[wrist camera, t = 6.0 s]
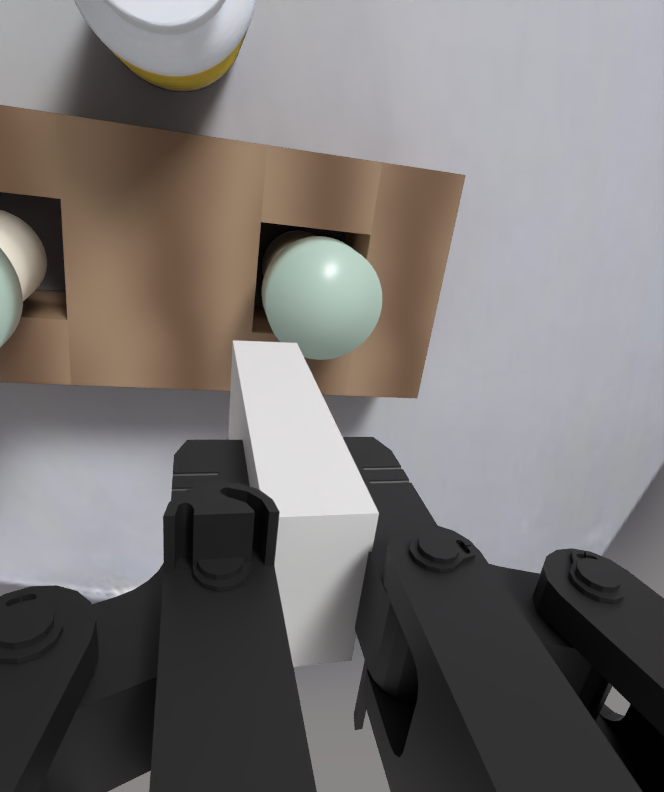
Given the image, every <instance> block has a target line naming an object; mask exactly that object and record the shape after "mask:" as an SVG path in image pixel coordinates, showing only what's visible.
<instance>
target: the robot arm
mask: <svg viewBox="0 0 664 792" xmlns="http://www.w3.org/2000/svg"><path fill="white" fill-rule="evenodd" d="M163 532H164V563H163V565H162V566H161V568H160V569H159V571H158V572H157V573H156V574H155V575H154V576H153V577H152V578H151V579H149V580H148V581H147V582H145V583H144V584H142V585H141V586H139V587H137V588H136V589H134V590H132V591H130V592H127V593H125V594H122V595H120V596H117V597H114V598H111V599H108V600H105V601H102V602H98V603H95V604H91V602H90V601H88V600H87V599H86V598H85V597H84V596H82V595H81V594H80V593H79V592H78V591H75V590H71V589H67V588H64V587H60V586H32V587H28V588H24V589H21V590H17V591H14V592H10V593H7V594H4V595H2V596H0V792H108V791H110V790H112V789H114V788H116V787H118V786H119V785H122V784H124V783H126V782H128V781H130V780H132V779H134V778H136V777H138V776H140V775H142V774H144V773H146V772H148V771H150V770H151V775H150V790H149V792H317V791H316V786H315V780H314V775H313V770H312V764H311V759H310V754H309V748H308V743H307V738H306V732H305V727H304V722H303V716H302V712H301V706H300V700H299V695H298V690H297V684H296V679H295V673H294V668H293V667H297V666H306V665H314V664H323V663H333V662H342V661H350V660H351V659H352V654H353V649H354V643H355V638H356V634H357V637H358V640H359V643H360V646H361V649H362V652H363V655H364V658H365V662H364V667H363V671H362V676H361V681H360V686H359V691H358V696H357V702H356V706H355V711H354V723H355V724H354V726H355V730H358V729H362V727H363V722H364V718H365V712H366V709H367V713H368V716H369V719H370V723H371V726H372V730H373V733H374V736H375V740H376V743H377V747H378V750H379V753H380V757H381V760H382V763H383V767H384V770H385V774H386V777H387V781H388V784H389V787H390V791H391V792H664V598H662V597H661V596H660V595H658V594H657V593H656V592H655V591H653V590H652V589H651V588H649V587H648V586H647V585H645V584H644V583H643V582H641V581H640V580H639V579H638V578H636V577H635V576H634V575H632V574H631V573H630V572H629V571H627V570H626V569H624V568H622V567H621V566H619V565H618V564H616V563H614V562H613V561H611V560H609V559H607V558H605V557H602V556H600V555H597V554H595V553H592V552H589V551H583V550H577V549H562V550H556V551H554V552H553V553H551V554H549V555H548V556H546V559H545V562H544V565H543V568H542V571H541V573H540V574H538V573H532V572H527V571H521V570H516V569H510V568H504V567H499V566H495V565H491V564H488V562H487V561H486V559H485V558H484V556H483V555H482V553H481V552H480V551H479V550H478V549H477V548H476V547H475V546H474V545H473V544H472V542H471V541H470V540H468V539H466V538H465V537H463V536H461V535H460V534H458V533H456V532H455V531H452V530H449V529H446V528H443V527H440V526H437V524H436V522H435V521H434V519H433V517H432V516H431V514H430V513H429V511H428V509H427V508H426V506H425V504H424V503H423V501H422V500H421V498H420V496H419V495H418V493H417V491H416V490H415V488H414V487H413V485H412V483H409V478H408V477H407V475H406V474H405V472H404V470H403V469H401V465H400V464H399V462H398V461H397V459H396V457H395V456H394V454H393V452H392V451H391V450H390V449H389V448H387V447H386V446H385V445H383V444H382V443H380V442H379V441H378V440H376V439H375V438H374V437H342V435H341V433H340V431H339V429H338V427H337V425H336V423H335V421H334V419H333V417H332V415H331V413H330V410H329V408H328V406H327V404H326V402H325V400H324V398H323V396H322V394H321V392H320V390H319V388H318V386H317V383H316V381H315V379H314V377H313V375H312V373H311V371H310V369H309V367H308V365H307V363H306V361H305V359H304V357H303V354H302V352H301V350H300V348H299V346H298V344H297V343H286V342H261V341H235V340H233V346H232V368H231V389H230V410H229V432H228V440H187V441H186V442H185V443H184V444H183V445H182V446H181V448H180V449H179V450H178V451H177V452H176V453H175V455H174V464H173V480H172V496H171V501H170V502H169V504H168V506H167V509H166V511H165V513H164V516H163ZM612 686H613V687H614V688H615V689H616V690H617V691H618V692H619V693H620V694H622V696H623V697H624V698H625V699H626V700H627V701H628V702H629V703H630V704H631V705H630V707H629V709H628V711H627V713H626V715H625V716H622V715H620V714H617V713H615V712H613V711H612V710H611V709H610V708H608V707H607V706H606V705H605V704H604V702H605V700H606V698H607V696H608V694H609V692H610V690H611V688H612Z"/></svg>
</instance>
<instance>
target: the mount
mask: <svg viewBox="0 0 664 792" xmlns="http://www.w3.org/2000/svg"><path fill="white" fill-rule="evenodd" d="M464 180H465V175H461V174H455V173H448V172H441V171H435V170H428V169H421V168H415V167H408V166H402V165H395V164H388V163H382V162H375V161H368V160H362V159H355V158H348V157H342V156H335V155H329V154H322V153H315V152H309V151H302V150H295V149H289V148H282V147H276V146H269V145H262V144H256V143H249V142H242V141H236V140H229V139H223V138H216V137H209V136H203V135H196V134H189V133H183V132H176V131H170V130H163V129H156V128H150V127H143V126H136V125H130V124H123V123H116V122H110V121H103V120H97V119H90V118H83V117H77V116H70V115H63V114H57V113H50V112H44V111H37V110H30V109H24V108H17V107H10V106H4V105H0V192H5V193H14V194H23V195H31V196H40V197H49V198H57V199H61V216H62V233H63V251H64V268H65V286H66V292H61V291H48V290H35V291H34V292H33V293H32V294H31V295H30V296H29V297H28V298H26V299H25V300H24V301H23V308H22V314H21V318H20V321H19V324H18V326H17V328H16V330H15V331H14V333H13V334H12V336H11V337H10V338H9V339H8V340H7V341H6V342H5V343H4V344H3V345H2V346H1V347H0V382H13V383H38V384H64V385H90V386H115V387H141V388H166V389H192V390H217V391H230V389H231V368H232V346H233V340H235V341H261V342H280V341H279V340H278V338H277V337H276V336H275V334H274V332H273V331H272V329H271V326H270V324H269V321H268V319H267V316H266V313H265V310H264V307H255V306H254V302H255V289H256V277H257V265H258V253H259V240H260V228H261V222H265V223H273V224H282V225H290V226H299V227H308V228H316V229H325V230H334V231H342V232H345V239H344V243H345V244H347V245H348V246H349V247H351V248H352V249H354V250H355V251H356V252H358V253H359V254H361V255H362V256H363V257H364V258H365V259H366V260H367V261H368V262H369V263H370V264H371V266H372V267H373V269H374V270H375V272H376V274H377V276H378V278H379V281H380V285H381V289H382V309H381V313H380V317H379V319H378V322H377V324H376V326H375V328H374V330H373V331H372V333H371V334H370V336H369V337H368V338H367V339H366V340H365V341H364V342H363V343H362V344H361V345H360V346H359V347H357V348H356V349H355V350H353V351H351V352H350V353H348V354H346V355H343V356H340V357H337V358H333V359H326V360H316V359H309V358H305V357H304V359H305V361H306V363H307V365H308V367H309V369H310V371H311V373H312V375H313V377H314V379H315V381H316V383H317V386H318V388H319V390H320V392H321V394H322V395H345V396H371V397H397V398H417V397H418V392H419V387H420V383H421V378H422V374H423V369H424V364H425V360H426V355H427V351H428V346H429V341H430V337H431V332H432V328H433V323H434V318H435V314H436V309H437V304H438V300H439V295H440V291H441V286H442V281H443V277H444V272H445V268H446V263H447V258H448V254H449V249H450V245H451V240H452V235H453V231H454V226H455V221H456V217H457V212H458V208H459V203H460V198H461V194H462V189H463V185H464Z"/></svg>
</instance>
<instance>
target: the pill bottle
mask: <svg viewBox="0 0 664 792" xmlns="http://www.w3.org/2000/svg"><path fill="white" fill-rule="evenodd" d="M74 1H75V3H76V5H77V7H78V9H79V10H80V12H81V14H82V16H83V17H84V19H85V20H86V22H87V23H88V25H89V26H90V27H91V29H92V30H93V31H94V33H95V34H96V35H97V36H98V37H99V39H100V40H101V41H102V42H103V43H104V44H105V45H106V46H107V47H108V48H109V49H110V50H111V51H112V52H113V53H114V54H115V55H116V56H117V57H118V58H119V59H120V60H121V61H122V62H123V63H124V64H125V65H126V66H127V67H128V68H129V69H130V70H132V71H133V72H134V73H135V74H136V75H137V76H139V77H140V78H142V79H143V80H145V81H146V82H148V83H150V84H152V85H154V86H156V87H159V88H162V89H165V90H169V91H175V92H191V91H196V90H200V89H203V88H205V87H208V86H210V85H212V84H213V83H215V82H216V81H218V80H219V79H220V78H221V77H222V76H223V75H224V74H225V73H226V72H227V71H228V70H229V69H230V67H231V66H232V64H233V62H234V61H235V59H236V57H237V56H238V53H239V51H240V48H241V45H242V43H243V40H244V38H245V35H246V33H247V30H248V27H249V25H250V22H251V18H252V15H253V12H254V8H255V4H256V0H74Z"/></svg>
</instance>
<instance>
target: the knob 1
mask: <svg viewBox="0 0 664 792" xmlns="http://www.w3.org/2000/svg"><path fill="white" fill-rule="evenodd" d="M46 270H47V257H46V252H45V249H44V246H43V244H42V242H41V240H40V238H39V237H38V235H37V234H36V233H35V231H34V230H33V229H32V228H31V227H30V226H29V225H28V224H27V223H25V222H24V221H23V220H21V219H20V218H18V217H17V216H15V215H13V214H11V213H8V212H6V211H2V210H0V347H1V346H2V345H3V344H4V343H5V342H6V341H7V340H8V339H9V338H10V337H11V336H12V334H13V333H14V331H15V330H16V328H17V326H18V324H19V321H20V318H21V314H22V308H23V301H24V300H25V299H26V298H28V297H29V296H30V295H31V294H32V293H33V292H34V291H35V290H36V289H37V288H38V287H39V286H40V285H41V283H42V281H43V279H44V277H45V274H46Z"/></svg>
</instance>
